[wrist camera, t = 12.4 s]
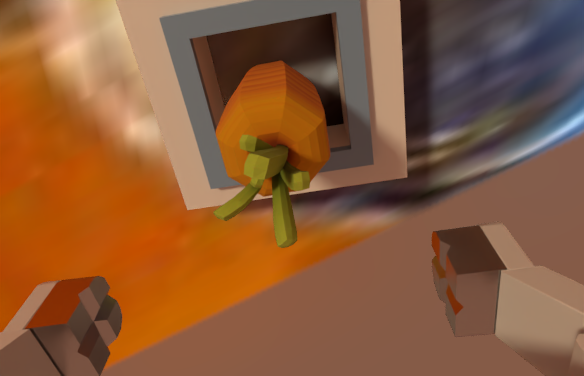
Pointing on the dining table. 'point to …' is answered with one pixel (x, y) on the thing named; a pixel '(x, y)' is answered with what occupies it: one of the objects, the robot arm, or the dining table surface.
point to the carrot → (272, 141)
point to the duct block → (209, 104)
